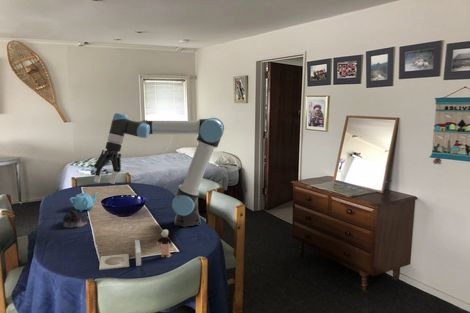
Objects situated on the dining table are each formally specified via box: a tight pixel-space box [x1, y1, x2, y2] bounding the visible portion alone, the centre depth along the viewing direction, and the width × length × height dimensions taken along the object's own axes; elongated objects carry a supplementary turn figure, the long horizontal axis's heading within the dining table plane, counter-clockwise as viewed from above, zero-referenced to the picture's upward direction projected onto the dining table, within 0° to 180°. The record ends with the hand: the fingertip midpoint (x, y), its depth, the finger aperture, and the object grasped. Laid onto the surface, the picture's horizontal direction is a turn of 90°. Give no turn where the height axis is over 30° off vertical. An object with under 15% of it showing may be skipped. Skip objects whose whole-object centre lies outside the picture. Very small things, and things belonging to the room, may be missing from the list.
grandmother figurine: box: [156, 229, 174, 258], centre depth 162 cm, size 8×4×13 cm, turn 92°
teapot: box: [69, 191, 99, 213], centre depth 226 cm, size 13×14×11 cm
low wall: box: [134, 239, 142, 267], centre depth 159 cm, size 2×14×6 cm, turn 18°
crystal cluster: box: [62, 209, 88, 229], centre depth 199 cm, size 13×14×10 cm
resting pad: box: [98, 253, 130, 271], centre depth 156 cm, size 12×12×1 cm
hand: (104, 182), depth 183 cm, fingers open, 13 cm apart
